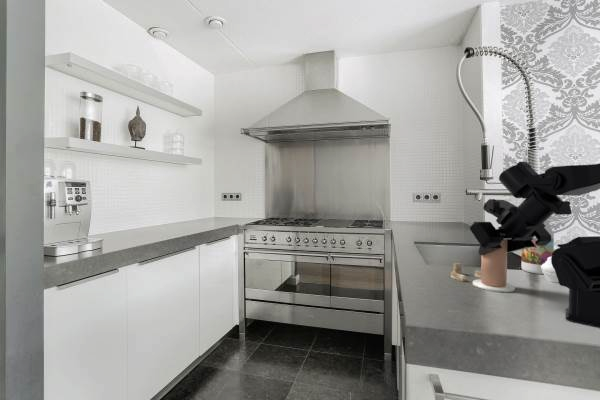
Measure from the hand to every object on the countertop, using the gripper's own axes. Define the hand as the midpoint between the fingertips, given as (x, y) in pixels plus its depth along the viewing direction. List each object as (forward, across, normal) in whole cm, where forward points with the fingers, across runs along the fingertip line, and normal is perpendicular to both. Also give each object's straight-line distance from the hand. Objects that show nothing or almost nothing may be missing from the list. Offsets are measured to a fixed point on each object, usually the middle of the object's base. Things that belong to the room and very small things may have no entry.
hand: (489, 253), depth 79 cm
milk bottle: (+12, -27, -1) cm, 29 cm away
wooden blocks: (+11, 0, 0) cm, 11 cm away
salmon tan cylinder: (+4, 0, +6) cm, 7 cm away
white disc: (+5, 0, +7) cm, 8 cm away
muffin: (+6, -21, +6) cm, 23 cm away
